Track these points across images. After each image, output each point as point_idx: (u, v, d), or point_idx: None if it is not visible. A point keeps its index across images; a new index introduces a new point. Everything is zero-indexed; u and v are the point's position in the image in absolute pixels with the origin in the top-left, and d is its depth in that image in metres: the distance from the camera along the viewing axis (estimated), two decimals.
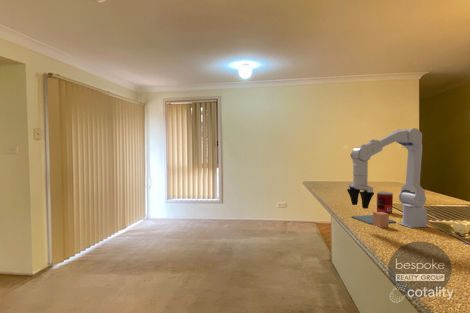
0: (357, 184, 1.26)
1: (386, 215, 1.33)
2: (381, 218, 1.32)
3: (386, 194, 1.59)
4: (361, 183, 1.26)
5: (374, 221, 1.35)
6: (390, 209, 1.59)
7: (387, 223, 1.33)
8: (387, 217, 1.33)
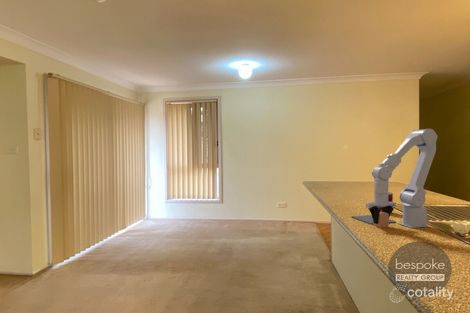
0: None
1: (386, 215, 1.33)
2: (381, 217, 1.32)
3: None
4: (374, 199, 1.35)
5: None
6: None
7: (387, 223, 1.33)
8: (387, 217, 1.33)
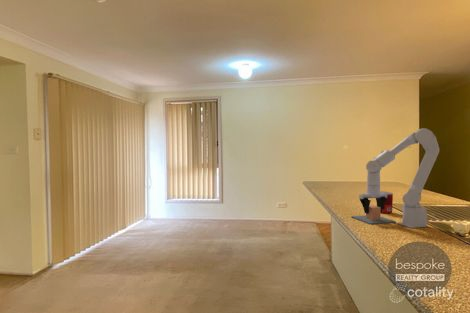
0: None
1: (378, 208, 1.44)
2: (373, 211, 1.43)
3: None
4: (367, 191, 1.46)
5: (367, 214, 1.46)
6: (390, 209, 1.59)
7: (379, 216, 1.44)
8: (378, 210, 1.44)
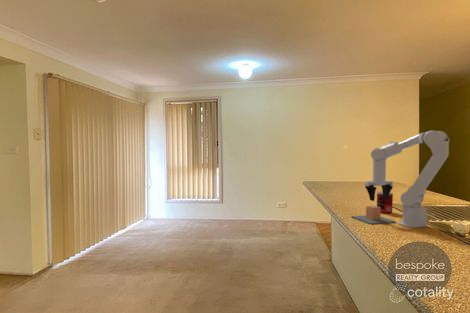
0: None
1: (378, 208, 1.44)
2: (373, 211, 1.43)
3: None
4: None
5: (367, 214, 1.46)
6: (390, 209, 1.59)
7: (379, 216, 1.44)
8: (378, 210, 1.44)
